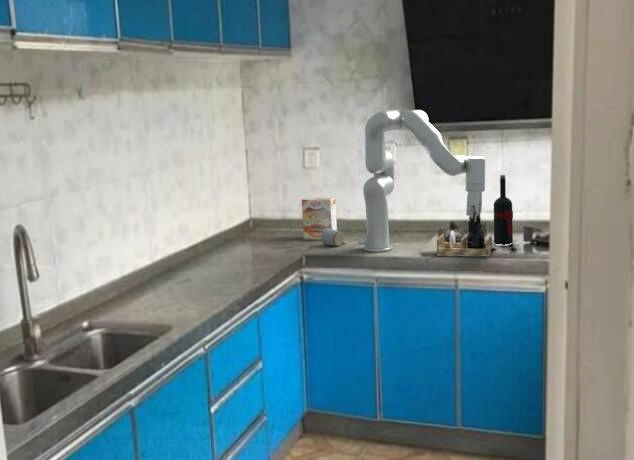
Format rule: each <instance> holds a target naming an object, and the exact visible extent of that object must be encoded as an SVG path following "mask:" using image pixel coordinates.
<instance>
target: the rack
mask: <svg viewBox="0 0 634 460" xmlns="http://www.w3.org/2000/svg"><path fill="white" fill-rule="evenodd" d="M492 236H493V235H492V234H489V235H488V237H487V238H486V239H485V244H484V249H468V247H467V234H464V236H463V237H461V240H460V242H455V248H450V242H449V241H448V242H447V241H445V233H442V234H440V235H439V237H438V238H437V239H436V256H437V257H455V256H454V255H467V256H488V254H489V253H490V251H491V249H492V250H493V244H492V242H493V237H492ZM491 252H492V251H491ZM490 254H491V253H490ZM488 257H489V256H488Z"/></svg>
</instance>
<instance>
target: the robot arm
mask: <svg viewBox="0 0 634 460" xmlns="http://www.w3.org/2000/svg"><path fill="white" fill-rule="evenodd" d="M395 130H397V131H407V132H408V133H409V134H410V135H411V136H412V137H414V139H415V140H416V141H417V142H418V143H419V144H420V145H421V146H422V147H423V148H424V149H425V151H426V153H427V154H428V155H429V157H430V159H432V161H433V162H434V164H435V165H436V166H437V167H438V168H440V169H441V170H442V172H443V173H445V175H448V176H452V177H455V176H458V175H461V174H465V192H467V196H466V213H465V215H466V216H467V217H468V230H469V231H473V232H476V231H477V222H481V223H482V221H481V214H482V208H483V207H482V206H483V192H485V191H486V190H485V189H486V158H484V156H479V155H478V156H468V155H467V156H465V155H460V154H459V155H454V154H453V153H452V152H451V151H449V149H448V148H447V147H446V146H445V144H444V142H443V139H442V135H441V132H439V131H438V129H436V128H435V127H434V126H433V125H432V124H431V123H430V122H429V117H428V115H427V113H426V112H425V111H423V110H421V109H413V110H412V109H389V110H388V109H387V110H386V109H385V110H380V111H378V112H376V113H375V114H373V115H372V116H370V117H369V118H368V120H367V121H366V123H365V127H364V140H365V141H364V142H365V147H364V151H365V153H364V154H365V157H364V158H365V159H364V161H365V168H366V171H368V172H369V173H370V174H373V177H370V178H368V179H367V180H366V181H365V183H364V185H363V188H362V191H363V198H364V203H365V220H366V222H365V224H366V238H365V239H358V241H357V243H358V245H364V247H363V250H364V251H366V252H372V253H373V252H374V253H379V252H380V253H381V252H389V251H392V250H393V249H394V245H392V244H390V234H389V233H390V231H389V226H390V225H389V224H390V223H389V206H388V201H387V196H389V195H390V194H391V193H392V192H393V190H394V188H395V161H394V157H393V155H392V154H391V152H390V151H387V150H386V138H385V133H386V132H389V131H395Z"/></svg>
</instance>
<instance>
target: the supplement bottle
mask: <svg viewBox="0 0 634 460" xmlns="http://www.w3.org/2000/svg"><path fill="white" fill-rule="evenodd" d="M485 238H486V237H485V230H484V228H483V223H482V221H481V222H477V231H476V232H473V231H469V229H468V230H467V247H468V249H484V244H485V243H486V239H485Z"/></svg>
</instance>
